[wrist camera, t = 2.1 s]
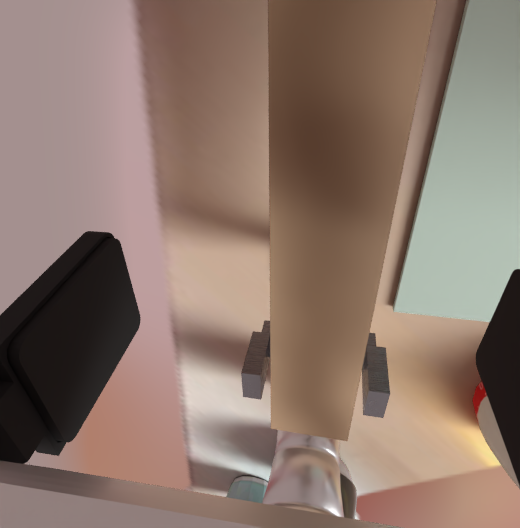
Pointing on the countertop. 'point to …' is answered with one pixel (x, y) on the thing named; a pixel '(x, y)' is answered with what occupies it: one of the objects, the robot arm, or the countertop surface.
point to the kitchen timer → (492, 430)
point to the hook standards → (372, 372)
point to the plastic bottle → (305, 474)
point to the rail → (333, 190)
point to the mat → (470, 176)
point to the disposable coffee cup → (248, 489)
